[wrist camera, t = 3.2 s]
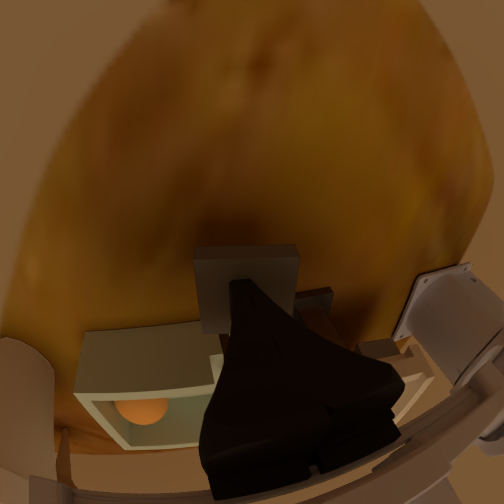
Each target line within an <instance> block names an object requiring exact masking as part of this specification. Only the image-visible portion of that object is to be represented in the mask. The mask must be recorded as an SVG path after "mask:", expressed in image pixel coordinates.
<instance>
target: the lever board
mask: <svg viewBox="0 0 504 504" xmlns="http://www.w3.org/2000/svg"><path fill="white" fill-rule="evenodd" d="M299 259H300V256H299V254H298V252H297V249H296V247H295V244H284V245H241V246H203V247H196V248H195V253H194V259H193V262H194V271H195V279H196V287H197V295H198V303H199V310H200V317H201V324H202V331H203V334H229V337H230V330H231V317H230V299H229V283H230V282H231V281H232V280H239V279H249V278H250V279H251V280H252V281H253V282H254V283H255V284H256V285H257V286H258V287H259V288H260V289H261V290H262V291H263V292H264V293H265V294H266V295H267V296H268V297H269V298H271V299H272V300H273V301H274V302H275V303H276V304H277V305H278V306H280V307H281V308H282V309H283V310H284V311H285V312H287V313H288V314H289V315H290V316H292V313H293V306H294V299H295V291H296V284H297V276H298V268H299ZM354 352H356V353H358V354H361V355H363V356H366V357H369V358H373V359H376V360H379V361H383V362H386V363H390V364H391V365H392V366H393V367H394V368H395V370H396V371H397V372H398V374H399V375H400V377H401V378H402V380H403V381H404V383H405V389H404V392H403V394H402V395H401V397H400V398H399V399H398V401H397V402H396V403H395V405H394V406H393V407H392V408H391V410H392V411H393V413H394V414H395V418H394V419H392V420H393V421H394V423H395V425H396V423H397V422H398V421H399V420H400V419H401V418H402V417H403V416H404V415H405V413H406V412H407V411H408V410H409V409H410V407H411V406H412V405H413V404H414V403H415V402H416V400H417V399H418V398H419V397H420V396H421V394H422V393H423V392H424V390H425V389H426V388H427V387H428V385H429V384H430V383H431V381H432V380H433V379H434V377H435V374H434V372H433V371H432V369H431V367H430V365H429V363H428V361H427V360H426V358H425V356H424V355H423V353H422V351H421V349H420V348H419V346H418V344H414V345H410V346H408V348H407V350H406V351H405V353H404V354H401V353H400V351H399V350H398V348H397V346H396V344H395V342H394V340H393V338H386V339H381V340H375V341H368V342H362V343H357V345H356V348H355V350H354Z"/></svg>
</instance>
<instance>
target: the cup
mask: <svg viewBox="0 0 504 504" xmlns="http://www.w3.org/2000/svg"><path fill="white" fill-rule="evenodd" d="M223 363H224V358H223V351H222V347H221V343H220V339H219V334H203V331H202V324H201V321H194V322H186V323H178V324H169V325H160V326H151V327H140V328H130V329H118V330H105V331H90V332H85V334H84V339H83V343H82V347H81V352H80V357H79V362H78V367H77V372H76V378H75V383H74V390H73V394H74V395H75V396H76V398H77V399H78V400H79V401H80V402H81V404H82V405H83V406H84V407H85V408H86V410H87V411H88V412H89V413H90V414H91V415H92V416H93V418H94V419H95V420H96V421H97V422H98V423H99V424H100V425H101V426H102V428H103V429H104V430H105V431H106V432H107V433H108V434H109V435H110V436H111V437H112V438H113V439H114V440H115V441H116V442H117V443H118V444H119V445H120V446H121V447H122V448H123V449H124V450H151V449H170V448H182V447H192V446H199V437H200V432H201V427H202V422H203V417H204V413H205V411H206V408H207V406H208V404H209V402H210V400H211V397H212V395H213V392H214V390H215V387H216V384H217V382H218V379H219V376H220V373H221V370H222V367H223ZM167 397H168V398H169V403H168V408H167V411H166V413H165V414H164V416H163V417H162V418H161V419H160V420H158V421H157V422H155V423H152V424H148V425H139V424H135V423H132V422H130V421H128V420H127V419H125V418H124V417H123V416H122V415H121V414H120V413H119V411H118V410H117V408H116V406H115V403H114V400H140V399H155V398H167Z"/></svg>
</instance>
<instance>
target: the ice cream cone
mask: <svg viewBox="0 0 504 504" xmlns="http://www.w3.org/2000/svg"><path fill="white" fill-rule="evenodd" d="M70 466H71V465H70V450H69V431H68V429H67V428H64V429H63V432H62V436H61V441H60V445H59V450H58V455H57V459H56V474H57V481H59V482H62V483H64V484H66V485H68V486H69V487H70V488H75V489H78V488H77V487H76V486H75V484H74V483H73V481H72V480H71V467H70Z"/></svg>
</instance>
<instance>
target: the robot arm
mask: <svg viewBox="0 0 504 504" xmlns="http://www.w3.org/2000/svg"><path fill="white" fill-rule="evenodd" d="M471 268H472V263H471V262H467V263H464V264H460V265H456V266H453V267H449V268H446V269H442V270H439V271H435V272H431V273H427V274H424V275H420V276H419V277H418V278H417V280H416V282H415V285H414V288H413V290H412V293H411V295H410V298H409V300H408V303H407V305H406V308H405V310H404V312H403V315H402V317H401V319H400V322H399V324H398V326H397V328H396V330H395V333H394V335H393V337H392V338H393V340H394V341H398V340H400V339H403V338H405V337H408V336H410V335H413V336H414V337H415V338H416V339H417V341H418V342H419V343H420V344H421V346H422V347H423V348H424V349H425V351H426V352H427V353H428V354H429V356H430V357H431V358H432V359H433V360H434V362H435V363H436V364H437V366H438V367H439V368H440V369H441V371H442V372H443V373H444V374H445V376H446V377H447V378H448V380H449V381H450V382H451V384H452V385H453V386H454V387H453V388H452V389H451V390H450V393H451V395H450V396H449V397H447V398H446V399H445V400H443V401H442V402H440V403H439V404H438V405H436V406H434V407H433V408H431V409H429V410H428V411H426V412H425V413H423V414H422V415H420V416H418V417H417V418H415V419H413V420H411V421H410V422H408V423H406V424H404V425H403V426H401V427H399V428H397V426H396V425H395V423H394V421H393V420H392V419H394V418H395V414H394V413H393V411H392V410H391V408H392V407H393V406H394V405H395V403H396V402H397V401H398V399H399V398H400V397H401V395H402V394H403V392H404V389H405V383H404V381H403V380H402V378H401V377H400V375H399V374H398V372H397V371H396V370H395V368H394V367H393V366H392V365H391V364H390V363H386V362H383V361H379V360H376V359H373V358H369V357H366V356H363V355H361V354H358V353H356V352H353V351H350V350H348V349H346V348H344V347H341V346H339V345H337V344H335V343H333V342H331V341H329V340H327V339H325V338H323V337H322V336H320V335H318V334H316V333H315V332H313V331H312V330H310V329H308V328H307V327H305V326H304V325H302V324H301V323H300V322H298V321H297V320H296V319H294V318H293V317H292V316H290V315H289V314H288V313H287V312H285V311H284V310H283V309H282V308H281V307H280V306H278V305H277V304H276V303H275V302H274V301H273V300H272V299H271V298H269V297H268V296H267V295H266V294H265V293H264V292H263V291H262V290H261V289H260V288H259V287H258V286H257V285H256V284H255V283H254V282H253V281H252V280H251V279H250V278H249V279H239V280H232V281H231V282H230V283H229V299H230V317H231V330H230V337H229V342H228V347H227V352H226V355H225V359H224V363H223V367H222V370H221V373H220V376H219V379H218V382H217V384H216V387H215V390H214V392H213V395H212V397H211V400H210V402H209V404H208V406H207V408H206V411H205V413H204V417H203V422H202V427H201V432H200V437H199V446H198V448H199V456H200V460H201V464H202V467H203V469H204V471H205V473H206V474H207V476H208V480H209V483H210V488H211V489H209V490H202V491H191V492H180V493H160V494H130V493H110V492H99V491H90V490H82V489H75V488H70V487H69V486H68V485H66V484H64V483H62V482H59V481H56V480H51V479H47V478H42V477H38V476H33V475H30V476H29V504H247V503H252V502H256V501H261V500H265V499H269V498H273V497H277V496H281V495H285V494H288V493H292V492H294V491H298V490H301V489H304V488H307V487H310V486H313V485H316V484H319V483H322V482H325V481H327V480H330V479H332V478H335V477H337V476H340V475H342V474H345V473H347V472H349V471H352V470H354V469H356V468H358V467H361V466H363V465H365V464H367V463H369V462H371V461H373V460H375V459H377V458H379V457H381V456H383V455H385V454H387V453H389V452H390V451H392V450H394V449H396V448H398V447H400V446H401V445H403V444H405V445H404V446H402V447H401V448H399V449H398V450H396V451H394V452H393V453H392V454H390V456H389V457H388V458H386V459H385V460H384V461H383V462H381V463H380V464H378V465H377V466H376V467H374V468H373V469H372V473H370V474H368V475H366V476H364V477H362V478H360V479H358V480H355V481H353V482H351V483H348V484H346V485H344V486H342V487H339V488H337V489H334V490H332V491H329V492H327V493H324V494H322V495H319V496H317V497H314V498H311V499H308V500H305V501H303V502H300V503H297V504H462V503H461V501H460V500H459V498H458V496H457V494H456V493H455V491H454V489H453V487H452V486H451V484H450V482H449V480H448V479H447V477H446V476H447V475H448V474H450V472H451V470H452V465H451V463H453V462H454V461H455V460H456V459H457V458H458V457H459V456H460V455H461V454H462V453H463V452H465V451H466V450H467V449H468V448H469V447H470V446H471V445H472V444H473V443H474V444H475V445H476V446H477V447H478V448H479V449H480V450H481V451H482V452H483V453H485V455H486V456H489V457H491V456H499V455H504V301H503V300H502V299H501V298H500V297H499V296H498V295H497V294H495V293H494V292H493V291H492V290H491V289H490V288H489V287H487V286H486V285H485V284H484V283H483V282H482V281H481V280H480V279H478V278H477V277H476V276H475V275H474V274H473V273H471V272H470V270H471Z"/></svg>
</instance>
